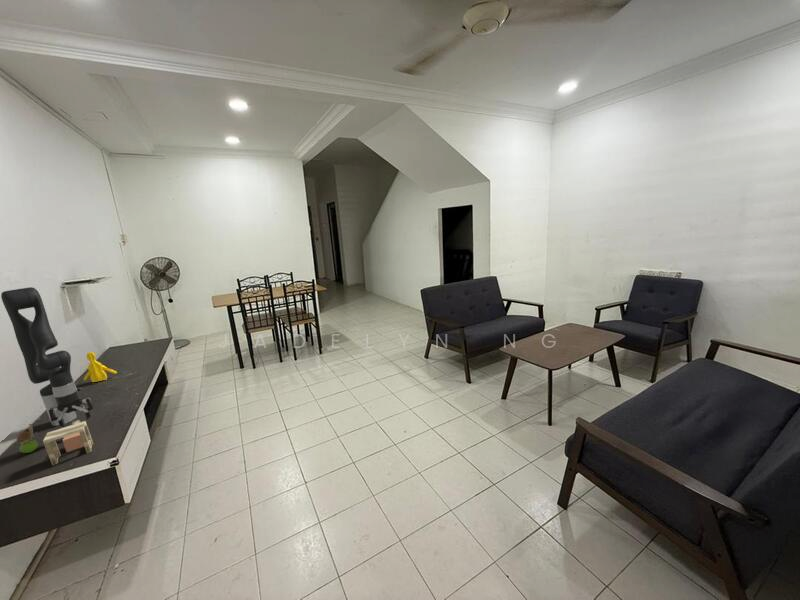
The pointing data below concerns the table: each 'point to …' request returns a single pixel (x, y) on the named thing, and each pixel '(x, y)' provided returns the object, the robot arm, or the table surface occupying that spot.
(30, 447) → the snail figurine
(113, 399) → the table surface
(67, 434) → the beige u-shaped block
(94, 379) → the figure statuette
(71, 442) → the cube base joystick
